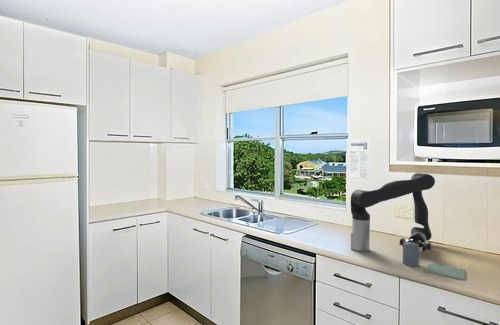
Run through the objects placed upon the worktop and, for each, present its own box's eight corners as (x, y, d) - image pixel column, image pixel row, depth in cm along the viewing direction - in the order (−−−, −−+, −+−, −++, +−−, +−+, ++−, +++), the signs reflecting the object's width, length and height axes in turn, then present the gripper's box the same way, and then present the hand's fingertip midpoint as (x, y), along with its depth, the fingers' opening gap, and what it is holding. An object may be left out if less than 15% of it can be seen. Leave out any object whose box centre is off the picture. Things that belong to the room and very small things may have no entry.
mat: (426, 272, 131) (426, 270, 131) (428, 263, 142) (428, 262, 142) (464, 280, 123) (464, 279, 123) (464, 270, 134) (464, 269, 133)
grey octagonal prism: (402, 264, 140) (402, 244, 140) (404, 260, 145) (404, 241, 145) (417, 268, 136) (417, 246, 136) (419, 263, 141) (419, 243, 141)
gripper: (403, 231, 165) (398, 237, 152) (432, 235, 156) (430, 242, 143) (403, 244, 165) (397, 251, 152) (432, 249, 156) (429, 257, 143)
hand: (413, 247), depth 148 cm, fingers open, 8 cm apart
